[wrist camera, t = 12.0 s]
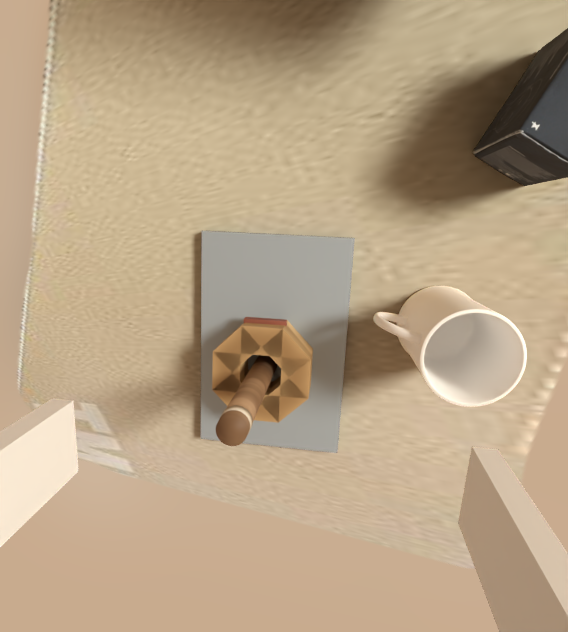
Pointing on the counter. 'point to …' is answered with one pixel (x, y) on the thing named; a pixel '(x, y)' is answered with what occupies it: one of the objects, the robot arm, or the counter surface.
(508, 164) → the box
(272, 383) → the bead
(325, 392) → the board
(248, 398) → the brown cigar
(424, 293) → the mug
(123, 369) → the counter surface
